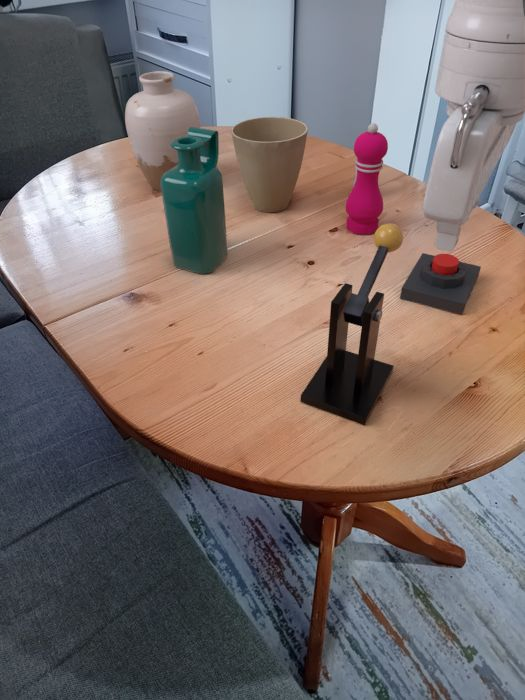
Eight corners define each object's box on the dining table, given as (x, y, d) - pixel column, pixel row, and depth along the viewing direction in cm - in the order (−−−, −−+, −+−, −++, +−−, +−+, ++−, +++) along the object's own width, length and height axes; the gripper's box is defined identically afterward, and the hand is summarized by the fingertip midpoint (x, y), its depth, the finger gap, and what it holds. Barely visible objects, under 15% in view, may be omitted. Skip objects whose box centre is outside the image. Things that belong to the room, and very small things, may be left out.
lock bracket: (332, 353, 78) (340, 265, 68) (392, 372, 75) (409, 283, 65) (300, 402, 71) (303, 312, 61) (365, 425, 68) (379, 334, 58)
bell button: (435, 260, 90) (437, 251, 89) (459, 266, 88) (461, 256, 87) (428, 272, 87) (430, 262, 86) (453, 278, 86) (455, 268, 84)
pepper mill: (341, 234, 104) (350, 129, 91) (345, 217, 110) (354, 115, 97) (379, 238, 103) (393, 131, 90) (381, 220, 108) (395, 117, 95)
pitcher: (208, 277, 94) (195, 152, 80) (168, 266, 97) (148, 144, 83) (235, 251, 101) (227, 131, 86) (197, 241, 104) (183, 124, 89)
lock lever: (380, 232, 71) (379, 214, 68) (406, 238, 69) (407, 220, 66) (339, 322, 66) (336, 307, 63) (367, 330, 65) (365, 316, 62)
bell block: (420, 263, 96) (424, 243, 93) (478, 277, 92) (483, 257, 90) (399, 298, 88) (403, 278, 85) (461, 315, 84) (467, 294, 82)
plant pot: (318, 199, 116) (321, 123, 106) (281, 227, 107) (281, 147, 97) (260, 184, 123) (258, 111, 112) (221, 210, 113) (215, 133, 103)
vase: (176, 203, 116) (161, 90, 101) (122, 188, 123) (100, 80, 108) (219, 177, 126) (210, 70, 111) (166, 164, 133) (152, 62, 118)
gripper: (512, 114, 36) (466, 286, 45) (550, 49, 49) (508, 191, 59) (419, 102, 38) (393, 268, 47) (479, 43, 52) (450, 181, 61)
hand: (457, 225), depth 53 cm, fingers open, 8 cm apart
